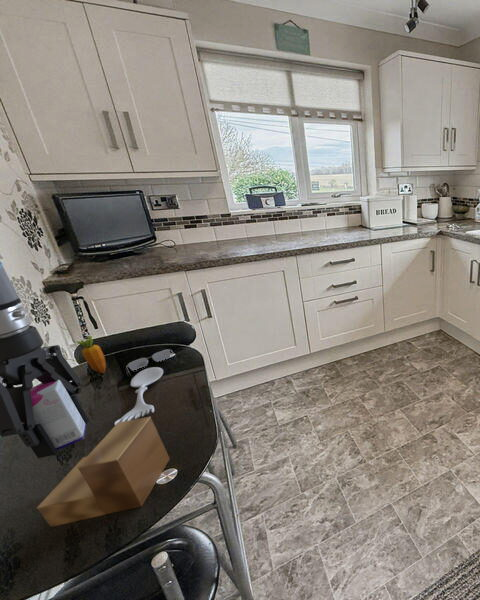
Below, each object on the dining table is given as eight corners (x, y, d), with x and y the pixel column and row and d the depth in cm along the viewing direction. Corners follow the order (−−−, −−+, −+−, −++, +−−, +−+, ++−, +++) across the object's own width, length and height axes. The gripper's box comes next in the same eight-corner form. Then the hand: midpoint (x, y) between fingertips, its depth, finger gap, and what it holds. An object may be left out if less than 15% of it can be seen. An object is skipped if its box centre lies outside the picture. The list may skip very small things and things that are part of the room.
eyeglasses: (173, 356, 125) (170, 347, 124) (179, 364, 120) (176, 355, 118) (129, 373, 116) (124, 363, 115) (133, 382, 111) (128, 372, 109)
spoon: (117, 434, 86) (111, 423, 84) (135, 379, 112) (131, 370, 111) (157, 419, 90) (153, 409, 89) (165, 369, 116) (162, 361, 115)
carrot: (93, 380, 114) (73, 342, 109) (95, 374, 118) (76, 337, 113) (111, 374, 117) (93, 337, 111) (112, 369, 121) (95, 332, 115)
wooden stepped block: (50, 527, 62) (17, 479, 58) (93, 475, 73) (68, 432, 69) (141, 506, 64) (116, 459, 60) (170, 459, 75) (150, 416, 71)
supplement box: (86, 424, 67) (60, 377, 63) (84, 439, 63) (56, 389, 59) (47, 439, 64) (17, 390, 60) (42, 456, 59) (9, 405, 55)
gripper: (-35, 358, 46) (43, 478, 54) (72, 308, 65) (119, 402, 73) (-98, 369, 45) (-9, 489, 53) (30, 314, 64) (81, 408, 72)
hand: (65, 438), depth 63 cm, fingers closed on supplement box, 8 cm apart
